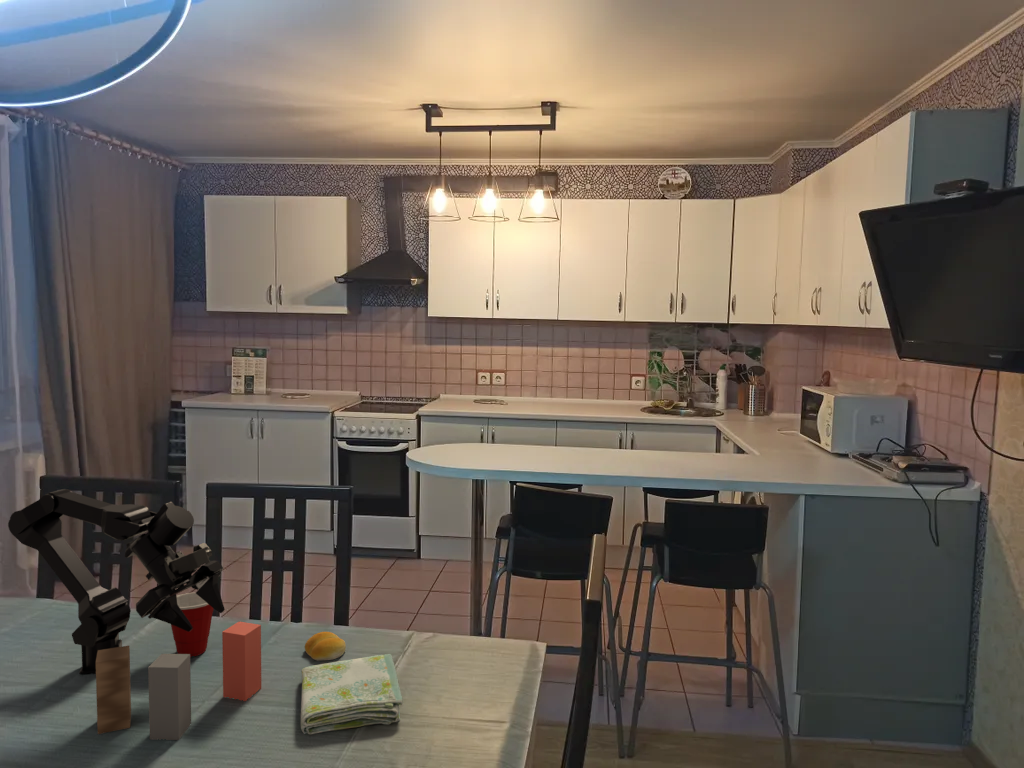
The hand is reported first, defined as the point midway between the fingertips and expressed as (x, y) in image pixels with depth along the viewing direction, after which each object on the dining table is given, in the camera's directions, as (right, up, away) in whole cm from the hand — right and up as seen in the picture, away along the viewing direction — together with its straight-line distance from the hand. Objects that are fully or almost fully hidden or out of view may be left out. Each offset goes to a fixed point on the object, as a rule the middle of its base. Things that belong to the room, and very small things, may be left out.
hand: (207, 620), depth 141 cm
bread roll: (+19, -13, +17) cm, 28 cm away
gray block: (0, -15, -15) cm, 21 cm away
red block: (+7, -14, -1) cm, 16 cm away
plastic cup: (-10, -12, +16) cm, 22 cm away
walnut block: (-11, -14, -12) cm, 22 cm away
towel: (+29, -15, -3) cm, 33 cm away
